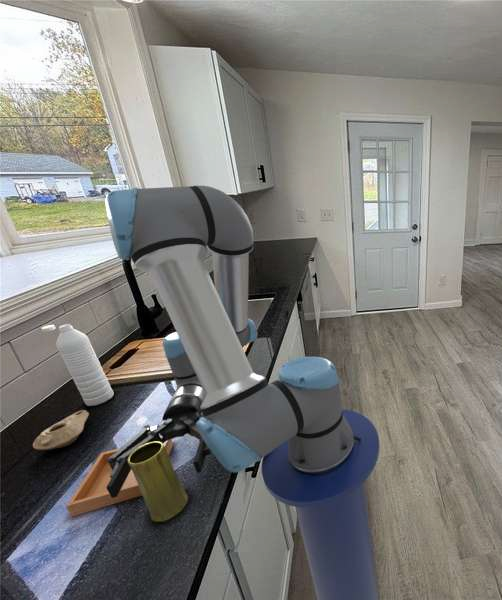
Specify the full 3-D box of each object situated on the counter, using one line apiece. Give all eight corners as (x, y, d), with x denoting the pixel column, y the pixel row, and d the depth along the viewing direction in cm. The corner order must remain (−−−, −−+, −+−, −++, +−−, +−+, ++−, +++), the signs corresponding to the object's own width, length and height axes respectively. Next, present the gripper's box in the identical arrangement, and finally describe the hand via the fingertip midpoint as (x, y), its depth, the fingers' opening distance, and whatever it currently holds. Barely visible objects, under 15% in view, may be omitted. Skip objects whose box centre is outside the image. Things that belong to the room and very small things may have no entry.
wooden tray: (173, 444, 77) (169, 435, 76) (154, 491, 65) (149, 481, 64) (105, 462, 73) (100, 452, 72) (71, 516, 61) (65, 506, 60)
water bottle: (119, 391, 98) (86, 319, 89) (103, 405, 92) (66, 329, 83) (89, 394, 97) (53, 322, 88) (71, 408, 91) (31, 332, 82)
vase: (195, 494, 64) (174, 441, 59) (169, 525, 58) (143, 469, 53) (170, 490, 65) (147, 437, 60) (142, 519, 59) (114, 464, 54)
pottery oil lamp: (106, 415, 87) (99, 402, 83) (72, 460, 78) (63, 448, 74) (68, 411, 85) (60, 397, 81) (30, 456, 76) (17, 443, 72)
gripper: (244, 406, 82) (234, 471, 63) (130, 434, 75) (81, 518, 56) (237, 382, 79) (224, 443, 61) (119, 409, 72) (62, 488, 53)
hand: (155, 479), depth 58 cm, fingers open, 13 cm apart
